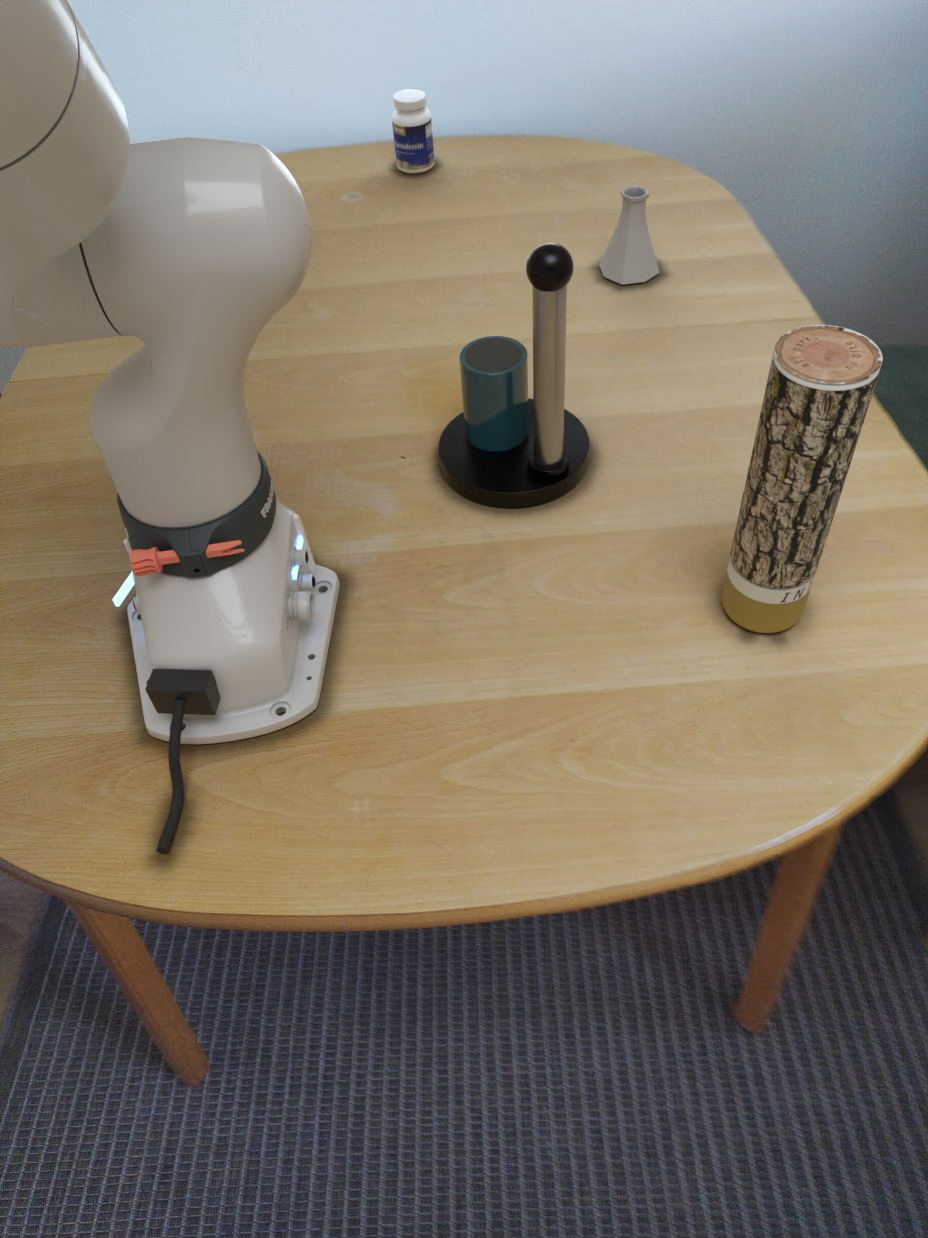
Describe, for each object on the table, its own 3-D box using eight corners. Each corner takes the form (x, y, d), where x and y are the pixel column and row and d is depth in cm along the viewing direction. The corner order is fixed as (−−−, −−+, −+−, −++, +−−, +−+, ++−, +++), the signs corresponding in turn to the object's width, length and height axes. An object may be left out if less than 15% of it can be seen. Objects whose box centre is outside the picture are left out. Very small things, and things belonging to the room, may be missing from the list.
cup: (534, 446, 93) (533, 368, 87) (470, 456, 93) (464, 378, 86) (522, 408, 98) (520, 330, 91) (460, 417, 97) (454, 339, 90)
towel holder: (410, 458, 96) (379, 227, 78) (518, 395, 102) (513, 166, 84) (508, 531, 89) (500, 293, 70) (619, 458, 94) (638, 221, 76)
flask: (589, 265, 119) (592, 186, 112) (638, 250, 121) (644, 171, 113) (619, 291, 115) (624, 211, 107) (669, 275, 116) (678, 195, 109)
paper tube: (709, 621, 80) (761, 369, 61) (733, 568, 84) (790, 316, 65) (790, 647, 77) (870, 394, 59) (811, 592, 81) (893, 337, 62)
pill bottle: (392, 173, 140) (384, 102, 132) (402, 157, 144) (395, 86, 136) (429, 175, 139) (423, 103, 131) (439, 158, 143) (433, 87, 135)
